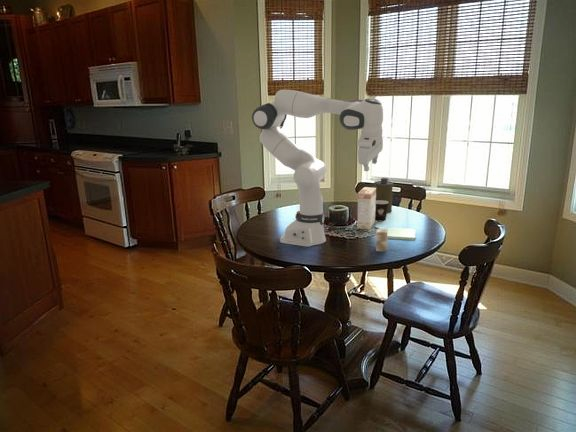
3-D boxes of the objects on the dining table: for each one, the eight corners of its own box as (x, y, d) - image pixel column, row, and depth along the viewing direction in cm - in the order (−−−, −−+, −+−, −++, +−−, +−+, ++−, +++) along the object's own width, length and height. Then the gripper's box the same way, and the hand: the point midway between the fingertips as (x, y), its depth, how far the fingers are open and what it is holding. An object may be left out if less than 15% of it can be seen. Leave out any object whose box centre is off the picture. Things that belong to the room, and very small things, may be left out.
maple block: (376, 250, 191) (376, 232, 189) (376, 247, 195) (377, 229, 193) (386, 251, 190) (387, 232, 187) (386, 248, 194) (387, 229, 192)
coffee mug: (389, 218, 240) (390, 201, 237) (384, 222, 233) (385, 204, 230) (370, 215, 246) (371, 199, 243) (364, 219, 239) (365, 202, 236)
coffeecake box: (363, 220, 236) (363, 186, 231) (375, 221, 234) (376, 187, 228) (356, 228, 223) (357, 192, 218) (370, 229, 220) (371, 193, 215)
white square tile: (385, 238, 207) (385, 235, 207) (386, 229, 220) (386, 227, 220) (415, 240, 203) (415, 237, 203) (414, 231, 216) (414, 228, 216)
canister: (393, 209, 258) (394, 177, 252) (389, 213, 249) (391, 180, 243) (375, 207, 262) (376, 176, 256) (371, 212, 253) (372, 179, 247)
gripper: (373, 129, 191) (372, 158, 198) (355, 143, 176) (355, 174, 183) (387, 130, 188) (385, 159, 195) (369, 145, 173) (368, 176, 180)
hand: (370, 166), depth 188 cm, fingers open, 8 cm apart
